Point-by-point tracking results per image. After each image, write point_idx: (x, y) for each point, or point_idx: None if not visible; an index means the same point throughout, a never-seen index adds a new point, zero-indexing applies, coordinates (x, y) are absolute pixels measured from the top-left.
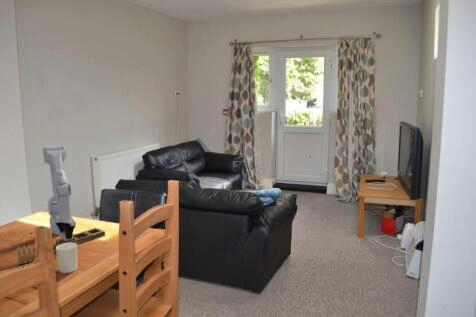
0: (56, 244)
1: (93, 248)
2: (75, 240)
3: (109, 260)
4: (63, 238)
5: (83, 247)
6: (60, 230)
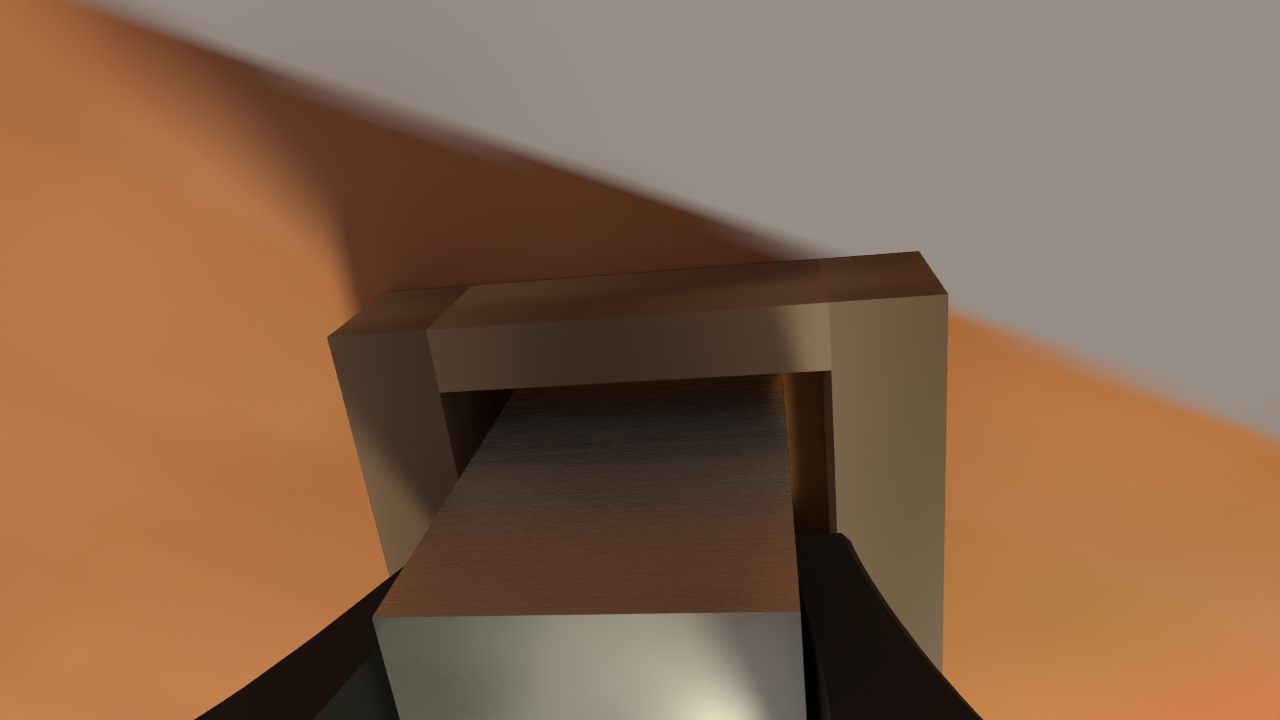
0: (883, 254)
1: (7, 704)
2: None
3: None
4: (560, 483)
5: (176, 613)
6: (832, 700)
